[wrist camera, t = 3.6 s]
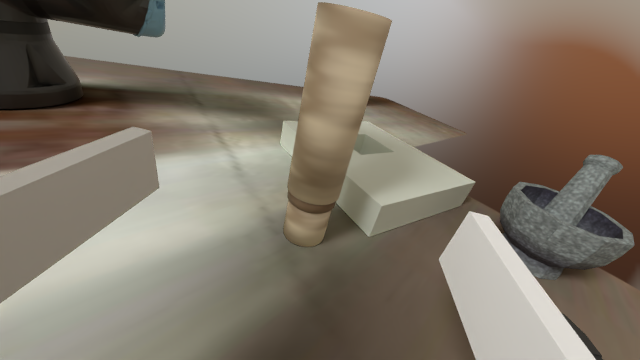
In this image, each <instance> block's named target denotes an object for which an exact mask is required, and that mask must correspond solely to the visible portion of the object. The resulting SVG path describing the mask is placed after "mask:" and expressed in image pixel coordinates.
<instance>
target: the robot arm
mask: <svg viewBox="0 0 640 360" xmlns="http://www.w3.org/2000/svg"><path fill="white" fill-rule="evenodd" d="M47 19H51V20H56V21H63V22H68V23H74V24H79V25H85V26H91V27H96V28H102V29H107V30H113V31H119V32H125V33H130V34H133V35H135V36H138V37H140V36H149V37H160V36H162V35H163V34H164V31H165V0H0V109H18V108H36V107H46V106H53V105H59V104H64V103H68V102H72V101H75V100H77V99H79V98H81V97H82V96H83V90H82V87H81V83H80V80H79V78H78V77H77V75H76V74H75V72H74V71H73V69H72V68H71V66H70V65H69V63H68V62H67V60H66V59H65V57H64V56H63V54H62V53H61V51H60V50H59V48H58V47H57V45H56V44H55V42H54V40H53V38H52V35H51V32H50V28H49V25H48V22H47ZM158 188H159V182H158V175H157V168H156V161H155V154H154V146H153V139H152V132H151V131H148V130H144V129H140V128H136V127H131V128H128V129H126V130H123V131H120V132H118V133H115V134H112V135H110V136H107V137H104V138H101V139H99V140H96V141H93V142H91V143H88V144H85V145H83V146H80V147H77V148H75V149H72V150H69V151H67V152H64V153H61V154H58V155H56V156H53V157H50V158H48V159H45V160H42V161H40V162H37V163H34V164H32V165H29V166H26V167H24V168H21V169H18V170H15V171H13V172H10V173H7V174H5V175H2V176H0V303H1V302H3V301H4V300H6V299H7V298H8V297H10V296H11V295H12V294H14V293H15V292H17V291H18V290H19V289H21V288H22V287H23V286H25V285H26V284H28V283H29V282H30V281H32V280H33V279H34V278H36V277H37V276H39V275H40V274H41V273H43V272H44V271H45V270H47V269H48V268H50V267H51V266H52V265H54V264H55V263H56V262H58V261H59V260H61V259H62V258H63V257H65V256H66V255H67V254H69V253H70V252H72V251H73V250H74V249H76V248H77V247H78V246H80V245H81V244H83V243H84V242H85V241H87V240H88V239H89V238H91V237H92V236H94V235H95V234H96V233H98V232H99V231H100V230H102V229H103V228H105V227H106V226H107V225H109V224H110V223H111V222H113V221H114V220H116V219H117V218H118V217H120V216H121V215H122V214H124V213H125V212H127V211H128V210H129V209H131V208H132V207H133V206H135V205H136V204H138V203H139V202H140V201H142V200H143V199H145V198H146V197H147V196H149V195H150V194H151V193H153V192H154V191H156V190H157V189H158ZM439 261H440V264H441V267H442V269H443V272H444V275H445V277H446V280H447V283H448V285H449V288H450V291H451V294H452V296H453V299H454V302H455V304H456V307H457V310H458V313H459V315H460V318H461V321H462V323H463V326H464V329H465V331H466V334H467V337H468V340H469V342H470V345H471V348H472V350H473V353H474V356H475V359H476V360H603V359H602V355H601V354H600V353H599V351H598V350H597V349H596V348H595V346H594V345H593V344H592V342H591V341H590V340H589V338H588V337H587V336H586V335H585V334H584V333H583V332H582V331H581V330H580V329H579V328H578V327H577V326H576V325H575V324H574V323H573V322H572V321H571V320H570V319H569V318H568V317H566V316H565V315H564V314H562V313H561V312H560V311H559V310H558V308H557V307H556V306H555V304H554V303H553V302H552V300H551V299H550V298H549V296H548V295H547V294H546V292H545V291H544V290H543V288H542V287H541V286H540V284H539V283H538V282H537V280H536V279H535V278H534V276H533V275H532V274H531V272H530V271H529V270H528V268H527V267H526V265H525V264H524V263H523V261H522V260H521V259H520V257H519V256H518V255H517V253H516V252H515V251H514V249H513V248H512V247H511V245H510V244H509V243H508V241H507V240H506V239H505V237H504V236H503V235H502V233H501V232H500V231H499V229H498V228H497V227H496V225H495V224H494V223H493V221H492V220H491V219H490V217H489V216H486V215H483V214H479V213H475V212H471V211H469V213H468V214H467V216H466V217H465V219H464V221H463V222H462V224H461V225H460V227H459V228H458V230H457V231H456V233H455V235H454V236H453V238H452V239H451V241H450V242H449V244H448V245H447V247H446V249H445V250H444V252H443V253H442V255H441V256H440V258H439Z"/></svg>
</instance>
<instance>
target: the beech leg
mask: <svg viewBox="0 0 640 360" xmlns="http://www.w3.org/2000/svg"><path fill="white" fill-rule="evenodd" d="M391 22H392V21H391V20H390V19H388V18H385V17H383V16H380V15H377V14H374V13H371V12H367V11H363V10H360V9H356V8H352V7H347V6H342V5H337V4H331V3H322V2H321V3H318V6H317V12H316V18H315V24H314V30H313V36H312V41H311V48H310V53H309V59H308V66H307V71H306V77H305V83H304V89H303V95H302V101H301V107H300V113H299V119H298V125H297V131H296V137H295V143H294V149H293V155H292V161H291V167H290V173H289V179H288V186H287V187H288V205H287V211H286V217H285V222H284V228H283V232H284V235H285V237H286V238H287V239H288V240H289V241H290V242H292V243H293V244H295V245H298V246H302V247H312V246H316V245H318V244H319V243H321V242H322V240H323V238H324V235H325V232H326V228H327V225H328V221H329V218H330V214H331V211H332V209H333V208H334V206H335V203H336V201H337V200H338V198H339V196H340V193H341V189H342V186H343V183H344V179H345V176H346V173H347V169H348V166H349V163H350V159H351V156H352V153H353V149H354V146H355V143H356V139H357V136H358V133H359V129H360V126H361V123H362V119H363V116H364V113H365V109H366V106H367V102H368V99H369V96H370V92H371V89H372V85H373V82H374V79H375V76H376V72H377V69H378V66H379V62H380V59H381V55H382V52H383V49H384V46H385V42H386V39H387V36H388V32H389V29H390V26H391Z"/></svg>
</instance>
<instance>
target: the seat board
mask: <svg viewBox="0 0 640 360" xmlns="http://www.w3.org/2000/svg"><path fill="white" fill-rule="evenodd" d="M297 125H298V121H283V127H282V134H281V141H280V145H281V146H282V147H283V148H284V149H285V150H286V151H287V152H288V153H289V154H290V156H291V157H292V155H293V149H294V143H295V137H296V131H297ZM474 184H475V181H473V180H471V179H469V178H467V177H465V176H464V175H462V174H460V173H458V172H457V171H455V170H453V169H451V168H449V167H448V166H446V165H444V164H443V163H440V162H439V161H437V160H435V159H434V158H432V157H430V156H428V155H427V154H425V153H423V152H421V151H419V150H418V149H416V148H414V147H412V146H411V145H409V144H407V143H405V142H403V141H402V140H400V139H398V138H396V137H395V136H393V135H391V134H389V133H387V132H386V131H384V130H382V129H380V128H379V127H377V126H375V125H373V124H371V123H370V122H362V123H361V126H360V129H359V133H358V136H357V139H356V143H355V146H354V149H353V153H352V156H351V159H350V163H349V166H348V169H347V173H346V176H345V179H344V183H343V186H342V189H341V193H340V196H339V198H338V200H337V201H336V203H337V204H338V205H339V206H340V208H341V209H342V210H343V211H344V212H345V213H346V214H347V215H348V216H349V217H350V218H351V219H352V220H353V221H354V222H355V223H356V224H357V225H358V226H359V227H360V228H361V229H362V230H363V231H364V233H365V234H366V235H367V236H368V237H371V236H374V235H377V234H380V233H383V232H386V231H388V230H391V229H394V228H397V227H400V226H403V225H406V224H409V223H412V222H415V221H418V220H421V219H424V218H427V217H430V216H433V215H435V214H438V213H441V212H444V211H447V210H450V209H453V208H456V207H459V206H461V205H462V203H463V202H464V200H465V198H466V197H467V195H468V194H469V192H470V190H471V189H472V187H473V185H474Z"/></svg>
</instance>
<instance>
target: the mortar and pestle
mask: <svg viewBox="0 0 640 360" xmlns="http://www.w3.org/2000/svg"><path fill="white" fill-rule="evenodd" d="M622 168H623V166H622V165H621V164H620V163H619V162H618V161H617V160H615V159H612V158H610V157H607V156H602V155H590V156H588V157H587V158H586V159H585V160H584V161H583V167H582V169H580V170H579V172H578V173H577V174H576V175H575V176H574V177H573V178H572V179H571V180H570V181H569V182H568V183H567V184H566V185H565V187H564V188H563V189H562V190H561V191H560V192H558V191H556V190H553V189H550V188H547V187H545V186H542V185H537V184H530V183H524V182H519V183H518V184H517V185H515V186H514V187H513V189H512V190H511V191H510V193H509V194H508V195H507V197H506V199H505V201H504V203H503V205H502V207H501V209H500V222H501V224H502V227H503V229H504V231H505V232H504V233H503V234H502V235H503V236H504V237H505V239H506V240H507V241H508V243H509V244H510V245H511V247H512V248H513V249H514V251H515V252H516V253H517V255H518V256H519V257H520V259H521V260H522V261H523V263H524V264H525V265H526V267H527V268H528V270H529V271H530V272H531V274H532V275H534V276H536V277H538V278H541V279H552V280H556V279H557V278H558V277H559V276H560V275H561V273H562V271H563V269H564V268H571V269H584V270H585V269H590V268H595V267H601V266H605V265H607V264H609V263H610V262H612V261H614V260H616V259H617V258H619V257H621V256H622V255H623V254H625V253H626V252H627V251H628V250H629V249H631V248H632V247H633V246H634V240H633V234H632V233H631V232H630V231H629V230H627V229H626V228H624V227H623V226H622V225H621V224H619V223H618V222H617V221H615V220H614V219H613V218H611V217H610V216H609V215H607V214H605V213H603V212H601V211H600V210H597V209H596V208H594V207H591V204H592V203H593V202H594V200H595V199H596V197H597V196H598V194H599V193H600V192H601V190H602V189H603V187H604V186H605V185H606V183H607V182H608V180H609V179H610V178H611V176H612V175H614V174H617V173H618V172H620V170H621V169H622Z"/></svg>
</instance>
